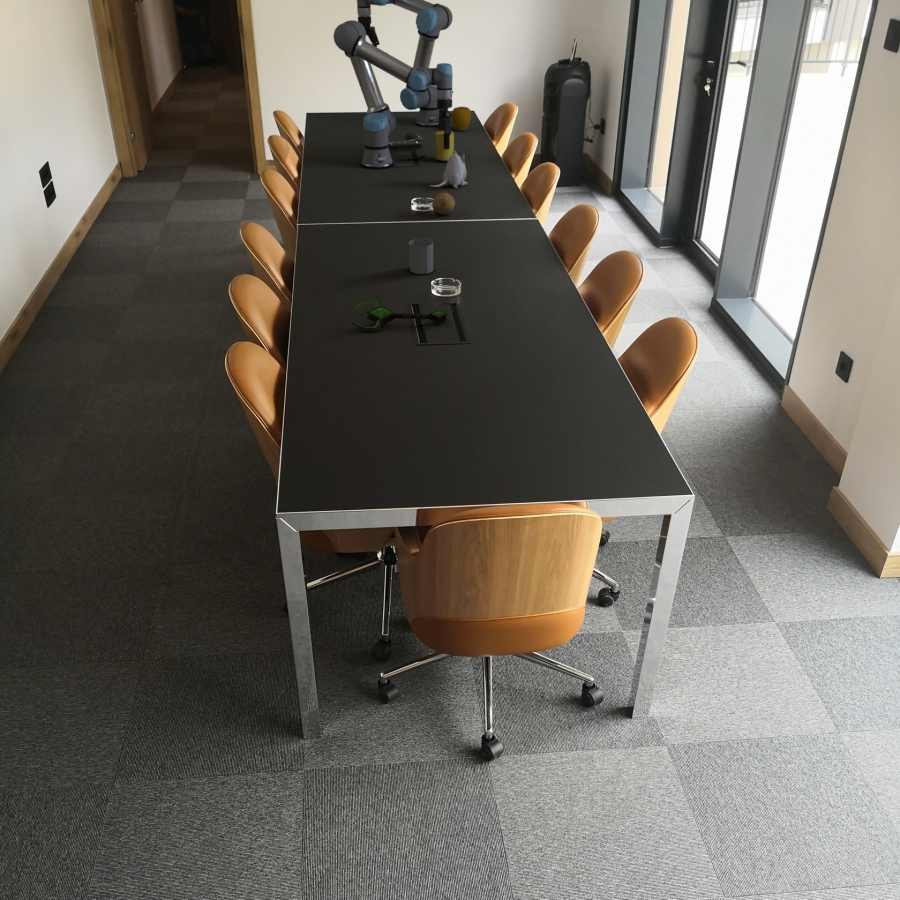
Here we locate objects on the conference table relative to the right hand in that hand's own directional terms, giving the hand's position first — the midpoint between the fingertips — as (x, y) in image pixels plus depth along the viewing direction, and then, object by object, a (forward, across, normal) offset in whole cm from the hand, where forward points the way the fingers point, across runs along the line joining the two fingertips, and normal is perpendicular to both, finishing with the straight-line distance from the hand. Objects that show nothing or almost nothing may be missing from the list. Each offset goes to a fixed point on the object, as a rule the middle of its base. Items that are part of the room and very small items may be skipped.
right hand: (366, 57), depth 496 cm
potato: (+34, +153, -104) cm, 188 cm away
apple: (+34, +59, +16) cm, 70 cm away
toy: (+34, +130, -75) cm, 154 cm away
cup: (+34, +191, -157) cm, 250 cm away
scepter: (+34, +218, -195) cm, 294 cm away
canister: (+33, +96, -40) cm, 110 cm away
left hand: (+27, +96, -40) cm, 108 cm away
